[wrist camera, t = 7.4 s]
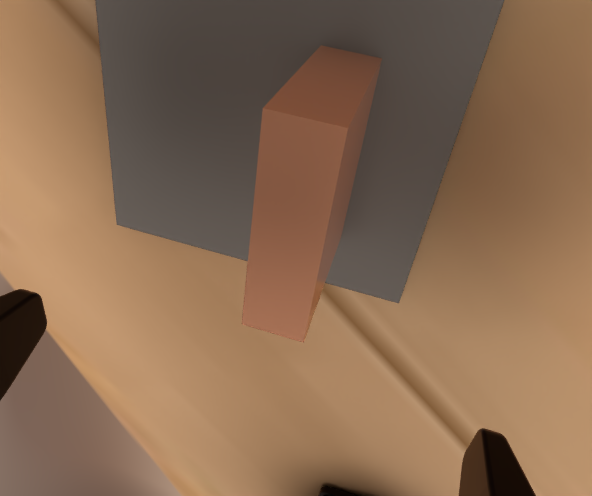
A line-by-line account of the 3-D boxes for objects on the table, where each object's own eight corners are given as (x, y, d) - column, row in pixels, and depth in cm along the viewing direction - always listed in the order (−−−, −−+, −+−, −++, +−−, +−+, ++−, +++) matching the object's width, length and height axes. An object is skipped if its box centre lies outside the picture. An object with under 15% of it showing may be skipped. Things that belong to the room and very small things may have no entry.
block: (340, 236, 20) (303, 342, 15) (293, 224, 20) (241, 324, 16) (381, 58, 16) (348, 128, 11) (320, 45, 16) (262, 107, 12)
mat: (399, 295, 22) (398, 303, 21) (122, 219, 23) (116, 224, 23) (506, -13, 15) (507, -10, 14) (96, -90, 16) (87, -90, 16)
